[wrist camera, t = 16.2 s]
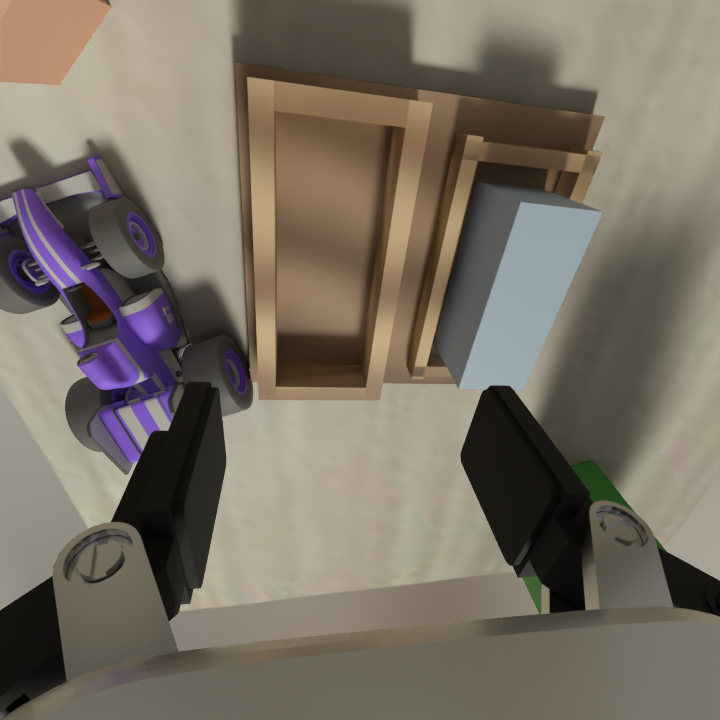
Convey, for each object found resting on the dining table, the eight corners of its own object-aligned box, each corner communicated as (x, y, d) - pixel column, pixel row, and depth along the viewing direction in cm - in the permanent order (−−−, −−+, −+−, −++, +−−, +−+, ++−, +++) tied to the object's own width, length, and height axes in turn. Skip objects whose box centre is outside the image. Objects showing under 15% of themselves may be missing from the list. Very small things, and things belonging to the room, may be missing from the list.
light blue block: (476, 181, 21) (520, 202, 17) (544, 189, 21) (603, 211, 17) (433, 342, 26) (458, 388, 22) (488, 345, 27) (523, 390, 23)
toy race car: (130, 144, 19) (63, 163, 14) (257, 377, 27) (247, 445, 22) (-49, 205, 19) (-181, 246, 14) (131, 415, 28) (92, 491, 23)
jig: (237, 63, 17) (225, 57, 15) (592, 115, 21) (640, 118, 18) (252, 372, 27) (246, 405, 24) (495, 376, 30) (516, 406, 27)
